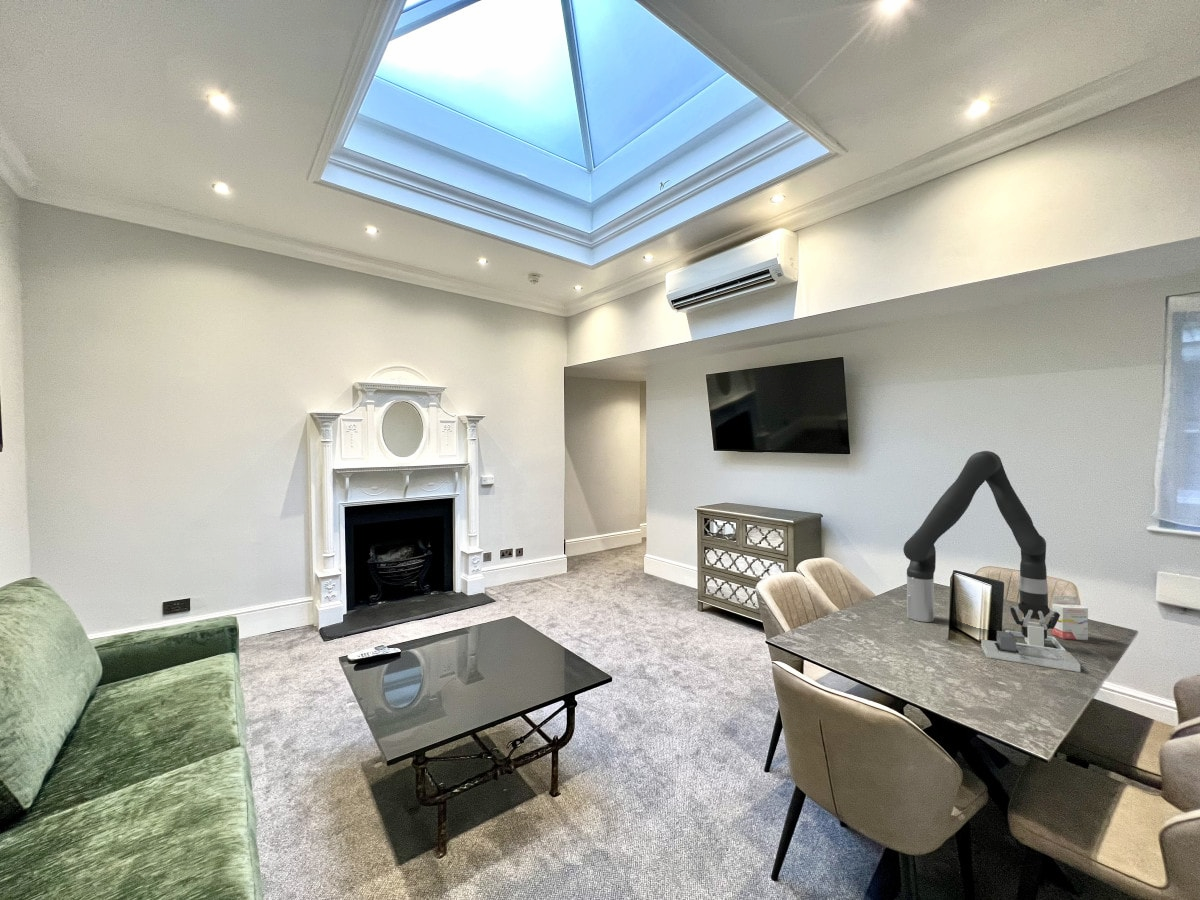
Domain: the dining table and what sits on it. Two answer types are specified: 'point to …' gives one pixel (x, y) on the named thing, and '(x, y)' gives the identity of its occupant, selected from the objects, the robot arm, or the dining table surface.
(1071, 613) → the ink cartridge box
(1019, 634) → the tray
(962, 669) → the dining table surface
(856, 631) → the dining table surface
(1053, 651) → the grey fixture base
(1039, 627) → the plug
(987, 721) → the dining table surface
